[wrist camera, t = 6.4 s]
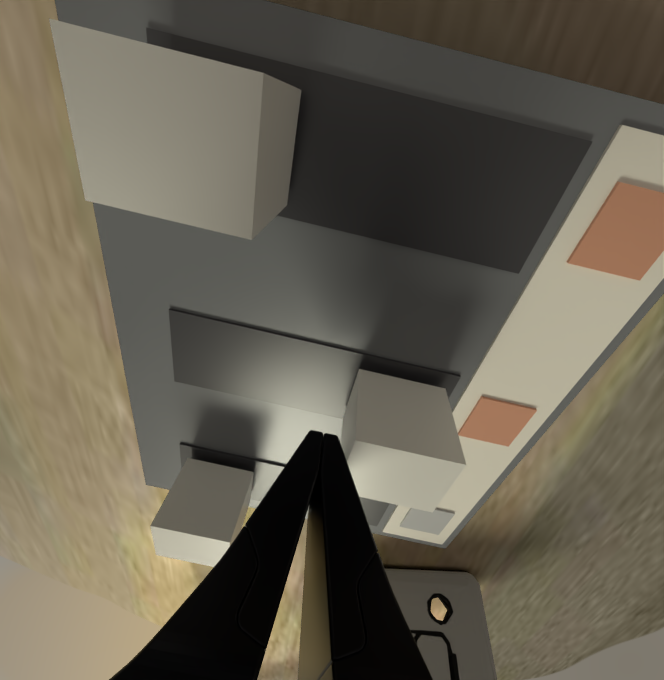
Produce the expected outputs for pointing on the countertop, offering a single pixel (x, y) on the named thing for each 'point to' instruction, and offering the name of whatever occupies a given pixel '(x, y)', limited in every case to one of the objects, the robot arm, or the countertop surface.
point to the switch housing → (386, 252)
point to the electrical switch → (446, 622)
